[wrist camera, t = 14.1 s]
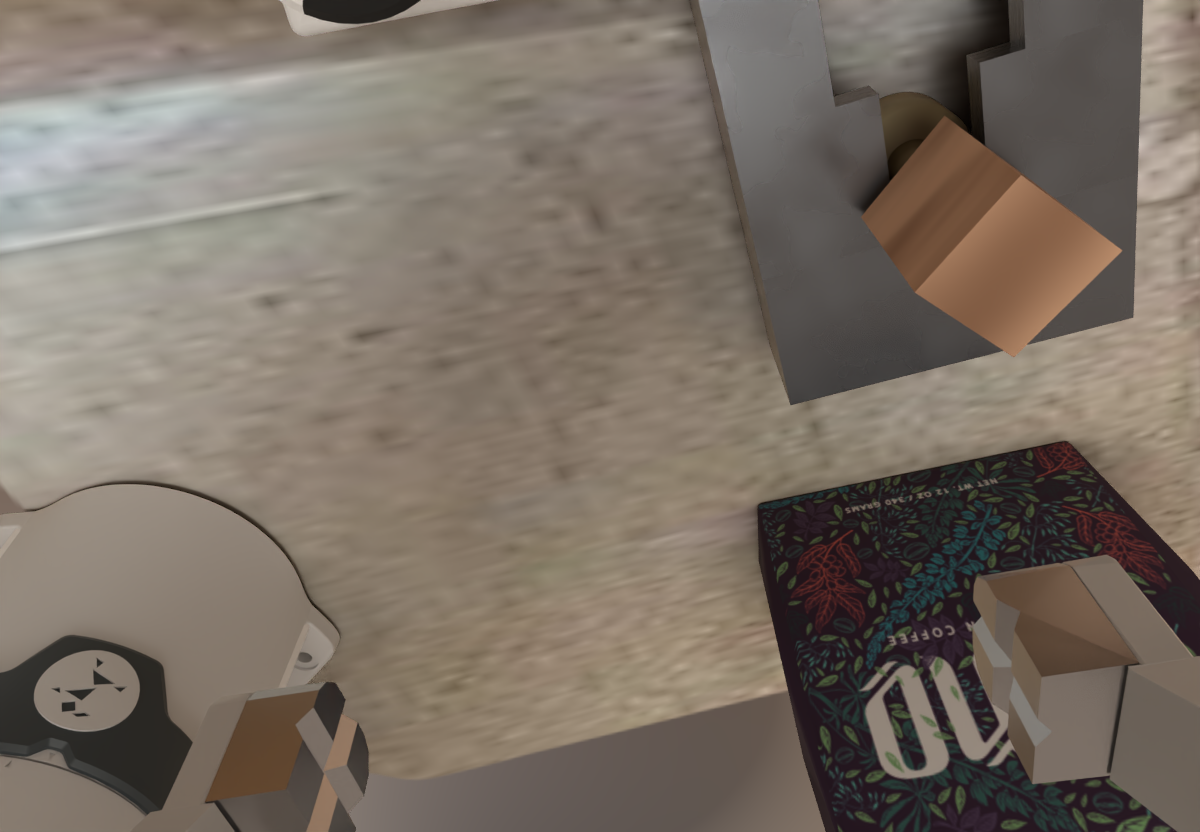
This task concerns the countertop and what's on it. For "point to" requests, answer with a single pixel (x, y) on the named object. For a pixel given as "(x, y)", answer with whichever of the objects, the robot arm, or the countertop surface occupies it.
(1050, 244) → the slider
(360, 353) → the countertop surface
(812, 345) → the keyhole plate
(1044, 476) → the decorative box
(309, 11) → the medicine bottle
